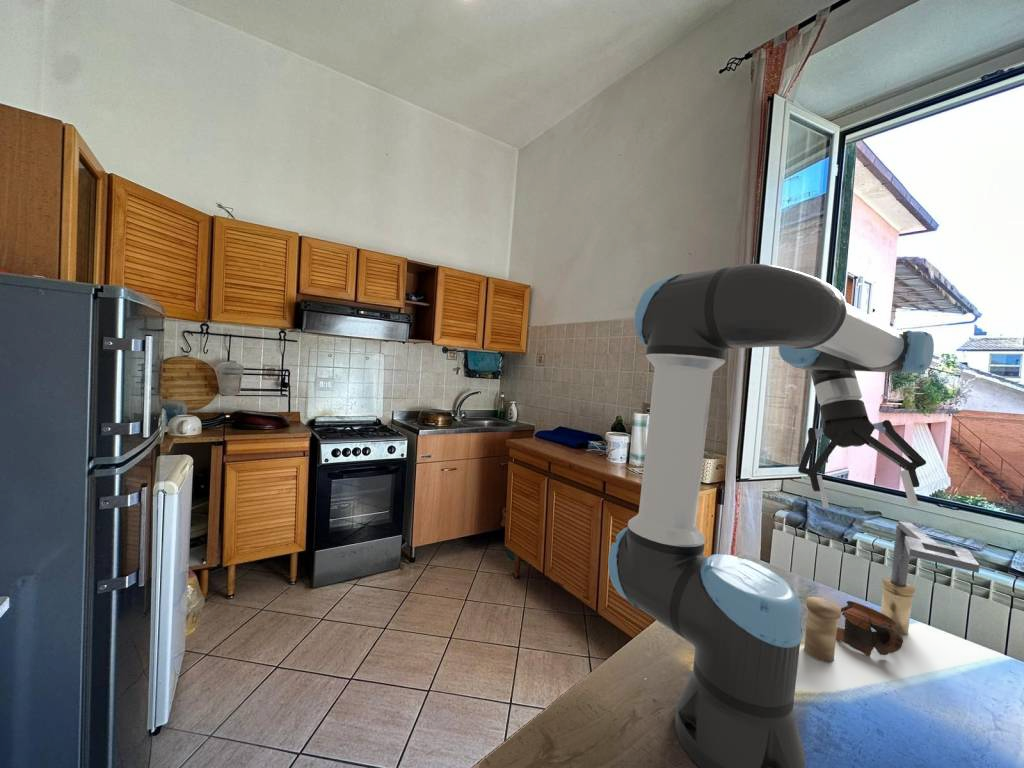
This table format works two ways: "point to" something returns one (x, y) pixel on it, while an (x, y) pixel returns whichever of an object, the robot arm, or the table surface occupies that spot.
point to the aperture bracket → (896, 588)
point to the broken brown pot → (868, 630)
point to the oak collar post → (821, 628)
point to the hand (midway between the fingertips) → (868, 507)
